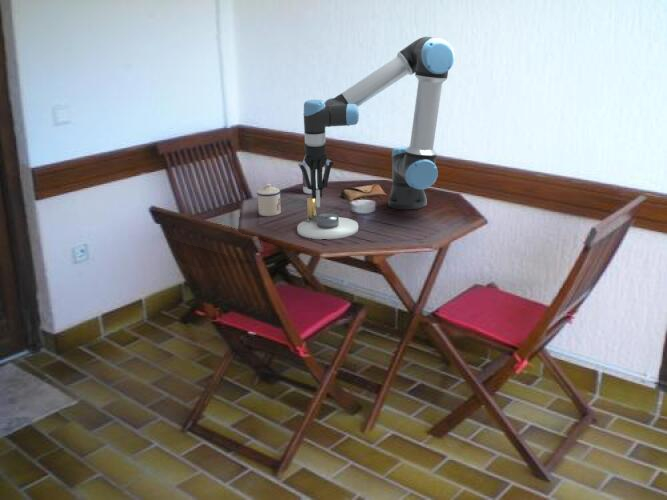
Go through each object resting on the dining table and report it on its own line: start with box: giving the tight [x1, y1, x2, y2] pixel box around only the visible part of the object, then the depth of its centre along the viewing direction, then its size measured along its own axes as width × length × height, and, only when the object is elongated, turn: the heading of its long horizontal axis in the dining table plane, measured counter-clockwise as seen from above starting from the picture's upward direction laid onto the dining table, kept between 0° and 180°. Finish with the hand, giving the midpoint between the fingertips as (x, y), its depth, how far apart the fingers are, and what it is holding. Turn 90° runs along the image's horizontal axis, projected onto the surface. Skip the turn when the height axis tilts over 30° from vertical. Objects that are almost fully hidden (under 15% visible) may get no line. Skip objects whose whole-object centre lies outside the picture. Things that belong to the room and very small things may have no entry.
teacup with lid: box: [256, 183, 282, 217], centre depth 304 cm, size 12×9×12 cm
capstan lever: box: [306, 196, 339, 228], centre depth 282 cm, size 14×8×8 cm, turn 40°
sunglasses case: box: [340, 183, 388, 201], centre depth 323 cm, size 18×7×7 cm, turn 115°
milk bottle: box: [301, 156, 318, 195], centre depth 329 cm, size 8×8×20 cm
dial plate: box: [296, 216, 359, 240], centre depth 281 cm, size 22×22×2 cm
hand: (317, 206), depth 288 cm, fingers closed
